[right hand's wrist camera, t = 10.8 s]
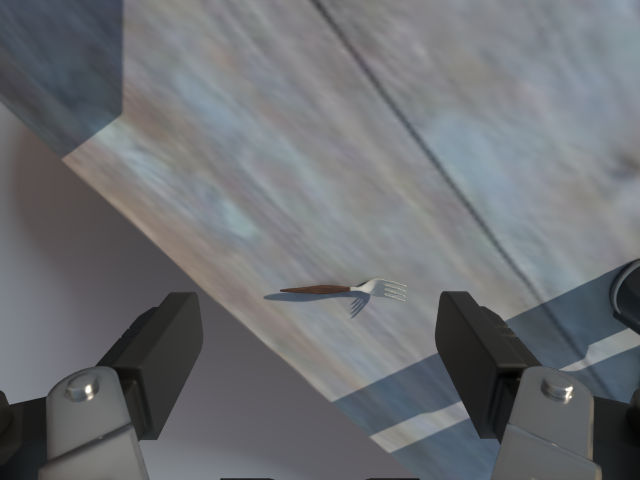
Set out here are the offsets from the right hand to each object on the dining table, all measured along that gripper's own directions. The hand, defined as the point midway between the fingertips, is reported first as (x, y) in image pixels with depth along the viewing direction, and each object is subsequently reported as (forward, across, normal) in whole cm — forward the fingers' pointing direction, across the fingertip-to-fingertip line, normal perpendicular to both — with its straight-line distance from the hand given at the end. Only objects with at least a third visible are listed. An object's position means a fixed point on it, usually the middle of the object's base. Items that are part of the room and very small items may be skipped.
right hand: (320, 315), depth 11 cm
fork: (+30, +3, -15) cm, 34 cm away
